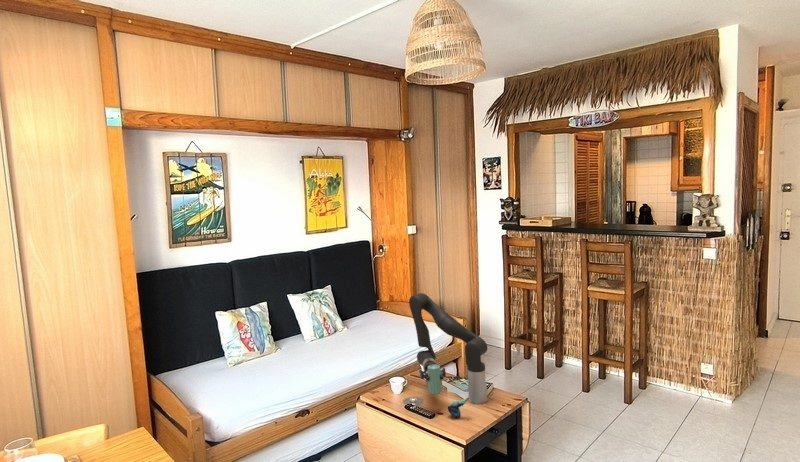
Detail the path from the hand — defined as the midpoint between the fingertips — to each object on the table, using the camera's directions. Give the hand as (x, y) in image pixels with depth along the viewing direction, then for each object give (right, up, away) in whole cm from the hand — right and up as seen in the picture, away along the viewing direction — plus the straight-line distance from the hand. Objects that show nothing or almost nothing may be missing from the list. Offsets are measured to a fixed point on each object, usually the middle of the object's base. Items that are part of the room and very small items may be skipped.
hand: (435, 378), depth 244 cm
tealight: (-10, -17, +16) cm, 26 cm away
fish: (+11, -19, -3) cm, 22 cm away
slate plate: (-10, -18, +16) cm, 26 cm away
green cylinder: (0, -7, +3) cm, 8 cm away
